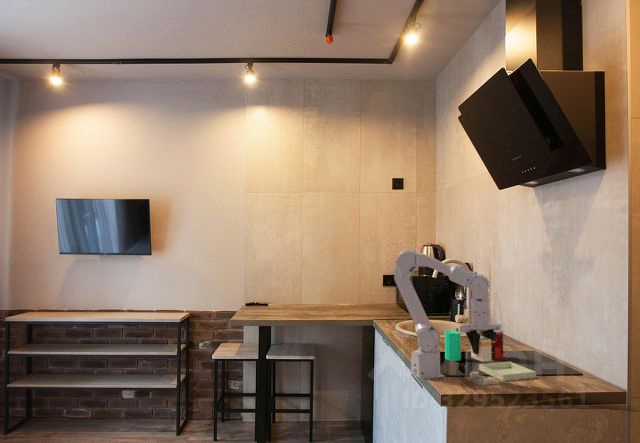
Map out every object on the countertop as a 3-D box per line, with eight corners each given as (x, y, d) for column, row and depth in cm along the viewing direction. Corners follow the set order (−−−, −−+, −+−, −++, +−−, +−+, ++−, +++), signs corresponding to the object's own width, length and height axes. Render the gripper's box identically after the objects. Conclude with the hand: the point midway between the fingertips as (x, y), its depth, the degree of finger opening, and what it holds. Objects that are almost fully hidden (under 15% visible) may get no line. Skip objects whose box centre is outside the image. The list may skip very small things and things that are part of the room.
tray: (503, 382, 147) (503, 375, 147) (479, 371, 159) (478, 364, 159) (536, 379, 150) (536, 371, 150) (509, 368, 163) (509, 361, 163)
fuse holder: (480, 387, 142) (480, 380, 142) (464, 378, 151) (464, 372, 151) (499, 385, 144) (499, 378, 144) (482, 377, 153) (481, 370, 153)
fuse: (482, 361, 144) (481, 340, 144) (470, 357, 150) (470, 336, 150) (491, 361, 145) (491, 339, 145) (480, 356, 151) (479, 335, 151)
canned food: (477, 356, 180) (477, 328, 180) (493, 354, 182) (493, 327, 183) (491, 361, 172) (490, 332, 173) (507, 359, 175) (507, 331, 176)
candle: (461, 361, 172) (461, 330, 173) (445, 360, 174) (445, 329, 174) (460, 357, 178) (459, 327, 179) (444, 356, 180) (444, 326, 180)
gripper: (468, 314, 142) (469, 357, 142) (507, 312, 146) (507, 354, 146) (456, 311, 149) (456, 352, 149) (493, 309, 153) (493, 349, 152)
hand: (481, 353), depth 148 cm, fingers closed on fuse, 3 cm apart
